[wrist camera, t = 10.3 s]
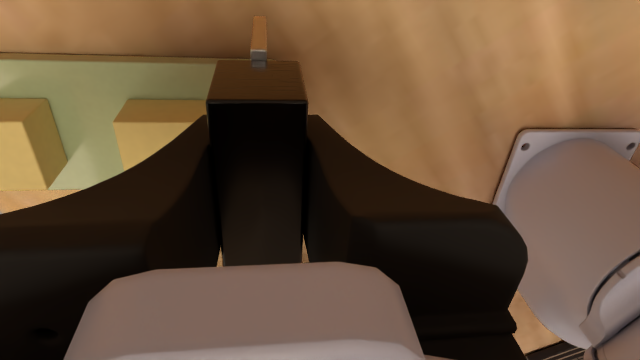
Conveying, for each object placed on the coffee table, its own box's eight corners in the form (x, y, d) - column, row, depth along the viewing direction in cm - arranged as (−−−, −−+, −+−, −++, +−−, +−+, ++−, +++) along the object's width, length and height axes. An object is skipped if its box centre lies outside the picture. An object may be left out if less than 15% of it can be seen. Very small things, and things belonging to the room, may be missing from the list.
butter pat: (68, 162, 21) (48, 190, 19) (15, 162, 21) (-12, 191, 19) (47, 97, 19) (21, 121, 17) (-12, 97, 19) (-46, 121, 17)
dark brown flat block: (289, 165, 16) (301, 284, 11) (237, 166, 16) (224, 288, 11) (291, 16, 13) (309, 89, 8) (226, 14, 13) (203, 87, 8)
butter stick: (257, 160, 22) (256, 187, 20) (140, 161, 21) (127, 189, 19) (255, 100, 20) (254, 122, 18) (127, 98, 19) (111, 122, 17)
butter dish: (275, 177, 24) (275, 186, 23) (35, 180, 22) (26, 191, 22) (275, 58, 20) (276, 65, 19) (-15, 51, 19) (-28, 59, 18)
